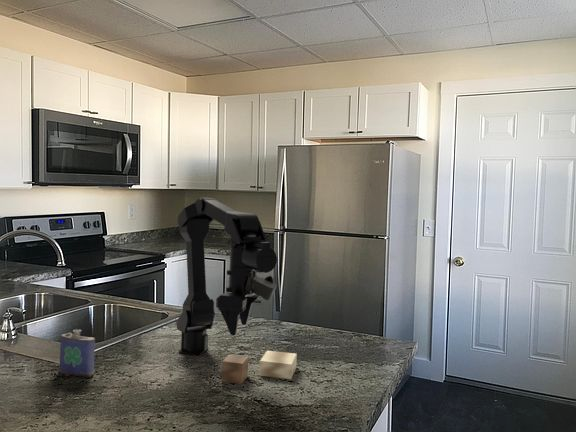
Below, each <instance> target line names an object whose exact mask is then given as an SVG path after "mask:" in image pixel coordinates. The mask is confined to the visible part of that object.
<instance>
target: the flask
mask: <svg viewBox="0 0 576 432" xmlns="http://www.w3.org/2000/svg"><path fill="white" fill-rule="evenodd" d="M72 332H73V333H72ZM72 332H68V333H63V334H61V335H60V346H59V349H60V351H59V352H60V353H59V370H58V371H59V373H61V374H64V375H67V376H69V375H70V376H76V377H87V378H90V377H93V376H94V375H95V347H96V346H95V344H96V338H95V337H92V336H90V337H89V336H83V335H82V336H81V332H82V330H81V329H73V330H72Z"/></svg>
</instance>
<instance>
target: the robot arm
mask: <svg viewBox="0 0 576 432" xmlns="http://www.w3.org/2000/svg"><path fill="white" fill-rule="evenodd" d="M214 221H216V222H217V223H219V224H221V225H222V226H223V228H224V230H223V231H224V232H225V233H226V234H227V235H228V236H229V237H230V239H228V240H227V241H226V245H227V246H230V249H229V251H230V252H229V253H230V254H229V269H227V270H226V275H227V276H228V286H227V287H225V289H226V290H225V292H224V293H221V294H220V295H219V296H217V298H216V302H214V300H213V299H212V298H210V296H209V295H208V293H207V281H206V279H207V278H206V260H205V258H206V257H205V241H206V238H207V236H208V234H209V232H210V224H212V223H213V222H214ZM177 224H178V228H179V233H180V235H181V236H182V238H183V240H184V241H185V243H186V244H185V245H186V246H185V248H186V268H187V269H186V270H187V291H188V292H187V296H186V298H185V299H184V301H183V303H182V312H181V314H180V315H179V317H178V318H177V320H176V323H175V324H176V329H177V331H180V332H181V334H180V335H181V339H180V349H179V350H178V353H179V354H185V355H192V356H193V355H195V356H201V355H202V354H203V353H204V352H206V351H207V350H208V349H209V334H207V330H212V328H213V324H214V320H215V315H216V314H215V313H216V312H215V307H216V308H217V309H218V311H220V313H221V316H222V318H223V320H224V322H225V324H226V328H227V329H228V332H229V334H230V335H231V336H236V334H237V330H238V325H239V320H240V322H241V325H243V326H244V325H245V326H246V325H247V324H248V320H249V316H250V312H251V310H252V307H253V303H255V301H257V299H258V298H260V297H261V298H262V299H264V300H266V301H270V299H272V298H273V295H274V294H275V291H276V289H277V283H276V282H275V277H274V276H272V275H270V274H269V275H267V276H266V277H265V278H264V277H260V276H258V275H257V271H258V272H260V273H265V274H266V273H270V272H271V271H273V270H274V268H275V267H276V265H277V262H278V256H277V254H276V252H275V250H274V249H273V248H271V242H269V241H267V235H266V233H265V232H264V229H263V226H262V223H261V221H260V218H259V217H258V215H256V214H255V213H251V212H246V211H245V212H243V211H237V210H235V209H234V208H231V207H229V206H228V205H226V204H224V203H222V202H221V201H218V200H217V198H214V197H199V198H197V199H196V200H195V202H193V203H191V204H190V205H188V206H187V205H186V207H184V208H182V210H181V212H180V213H179V214H178V216H177Z"/></svg>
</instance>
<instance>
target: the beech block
mask: <svg viewBox="0 0 576 432" xmlns="http://www.w3.org/2000/svg"><path fill="white" fill-rule="evenodd" d="M297 358H298V354H297V353H294V352H293V353H292V352H284V351H274V350H266V351H265V353H264V354H263V356H262V357H261V359H260V360H259V374H258V375H259V377H261V376H262V377H270V378H277V379H286V380H292V378H293V375H294V374H295V371H296V369H297V360H298V359H297Z"/></svg>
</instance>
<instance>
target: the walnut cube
mask: <svg viewBox="0 0 576 432" xmlns="http://www.w3.org/2000/svg"><path fill="white" fill-rule="evenodd" d="M221 362H222V365H221V366H222V367H221V382H223V383H224V382H226V383H232V384H239V385H242V384H243V383H244V381H246V379H247V378H248V376H249V375H248V374H249V356H245V355H236V354H228V355H226V357H225V358H224V359H223V360H222V361H221Z"/></svg>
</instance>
